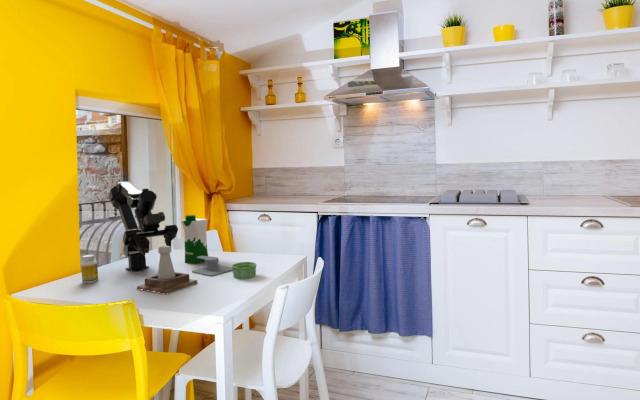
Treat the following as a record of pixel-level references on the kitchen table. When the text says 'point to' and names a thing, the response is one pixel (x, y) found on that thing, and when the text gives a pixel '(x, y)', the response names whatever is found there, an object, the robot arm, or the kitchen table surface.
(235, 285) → the kitchen table surface
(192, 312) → the kitchen table surface
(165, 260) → the salt shaker
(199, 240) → the milk carton
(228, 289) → the kitchen table surface
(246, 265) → the ramekin
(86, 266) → the supplement bottle
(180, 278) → the collar socket
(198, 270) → the shower valve
